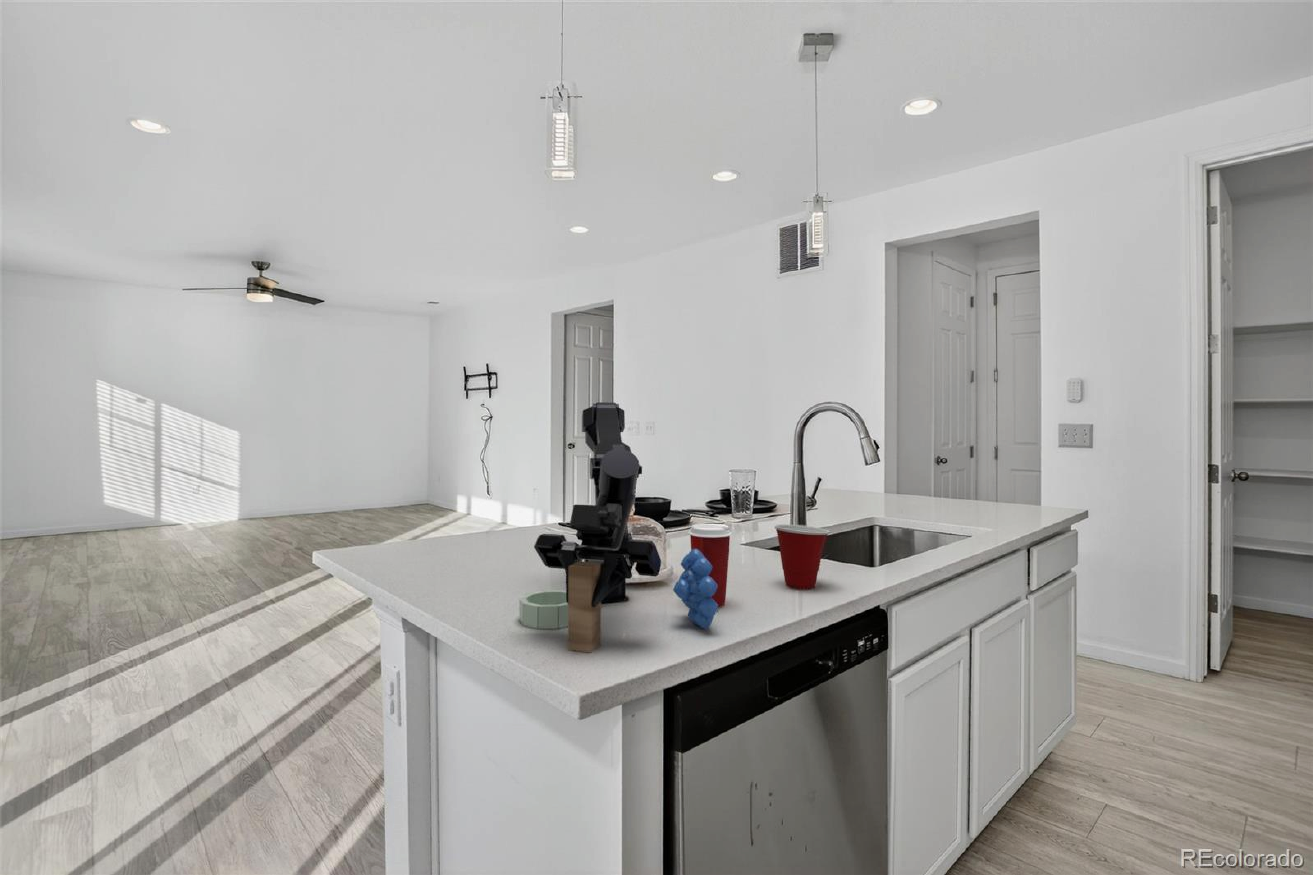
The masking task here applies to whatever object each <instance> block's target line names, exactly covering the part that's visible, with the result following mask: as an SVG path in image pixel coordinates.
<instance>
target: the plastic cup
mask: <svg viewBox="0 0 1313 875" xmlns="http://www.w3.org/2000/svg"><path fill="white" fill-rule="evenodd" d="M774 529H775V530H776V533H777V534H776V535H777V541H778V546H779V552H780V560H781V566H782V570H783V577H784V578H783V579H784V584H785V586H786V587H787V586H788V587H787V588H789V587H790V588H789V589H793V590H802V591H803V590H804V589H806V590H812V589H811V588H813V589H814V587H816V584H817V579H818V573H819V570H820V566H821V559H822V554H823V548H824V546H825V542H826V540H827V537H828V535H830V530H828V529H825V528H822V527H816V526H815V527H814V526H808V525H800V524H785V523H784V524H775V525H774ZM804 591H805V590H804Z"/></svg>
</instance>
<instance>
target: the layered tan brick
mask: <svg viewBox="0 0 1313 875" xmlns="http://www.w3.org/2000/svg"><path fill="white" fill-rule="evenodd" d="M600 575H601V563H594V562H584V561H582V562H581V561H579V562H576V563H574V564H572V565H570V566H569V574H568V626H567V628H568V629H567V631H568V632H567V633H568V634H567V636H568V637H567V638H568V639H567V640H568V644H567V645H568V647H567V649H568V651H572V650H574V651H573V652H580V651H581V652H580V653H588V652H589V653H590V654H592V653H593V652H594V651H595V650H597V648H599V647H600V646H601V643H602V642H601V634H602V632H601V627H602V626H601V624H602V623H601V620H602V619H601V617H602V616H601V614H602V613H601V611H602V610H601V609H602V607H601V606H602V603H601V602H600V603H599V604H598V605H597V606H596V607H593V606H592V604H591V602H592V598H593V593H594V591H595V588H596V585H597V583H598V580H599V577H600ZM598 646H599V647H598ZM575 650H576V651H575ZM593 650H594V651H593ZM592 651H593V652H592Z"/></svg>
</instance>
